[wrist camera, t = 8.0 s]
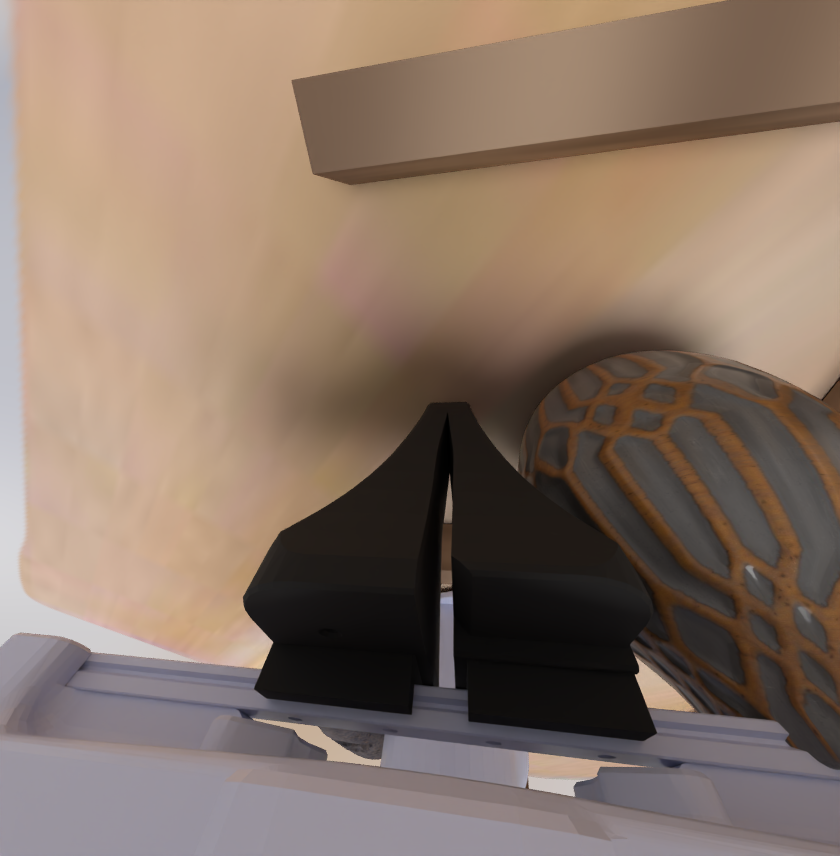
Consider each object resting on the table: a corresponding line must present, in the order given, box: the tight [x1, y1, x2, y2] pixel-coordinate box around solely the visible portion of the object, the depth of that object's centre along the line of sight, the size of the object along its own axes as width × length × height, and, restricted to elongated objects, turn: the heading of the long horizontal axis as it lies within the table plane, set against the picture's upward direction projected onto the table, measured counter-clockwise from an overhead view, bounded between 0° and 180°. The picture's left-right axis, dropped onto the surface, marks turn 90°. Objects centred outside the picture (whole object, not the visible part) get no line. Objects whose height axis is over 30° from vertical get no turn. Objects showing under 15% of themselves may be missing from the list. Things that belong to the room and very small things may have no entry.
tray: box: [292, 0, 840, 584], centre depth 10 cm, size 16×16×2 cm
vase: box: [518, 350, 840, 770], centre depth 7 cm, size 7×7×9 cm
